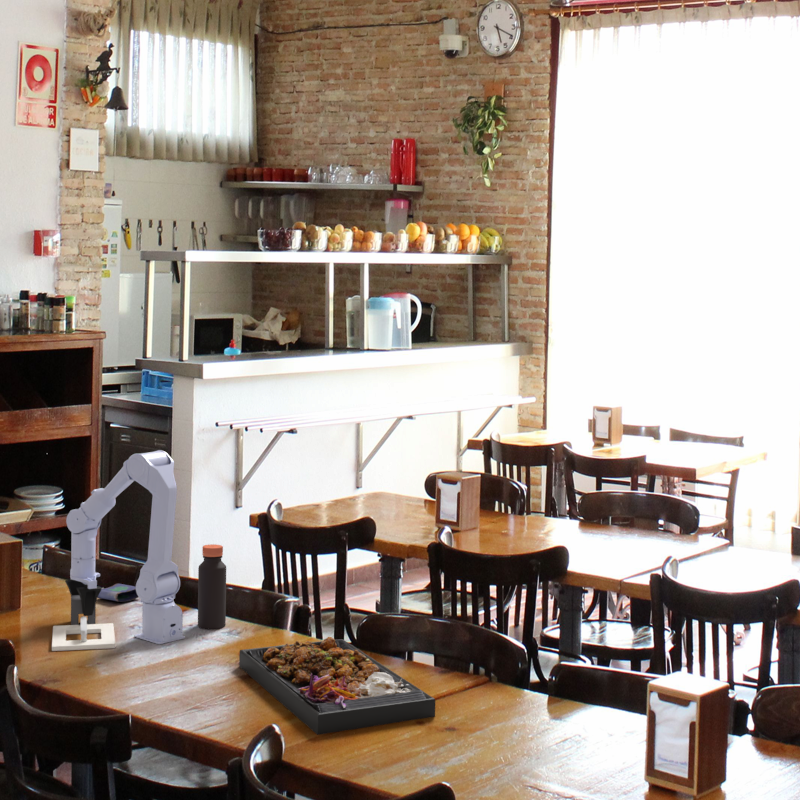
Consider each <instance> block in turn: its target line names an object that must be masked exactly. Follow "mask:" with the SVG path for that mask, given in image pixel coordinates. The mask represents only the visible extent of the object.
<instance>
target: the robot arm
mask: <svg viewBox="0 0 800 800" xmlns="http://www.w3.org/2000/svg"><path fill="white" fill-rule="evenodd" d="M174 469H175V461H174V459H173V458H172V457H171V456H170V454H169V453H168V452H166V451H164V450H162V449H158V450H154V451H150V452H141V453H133V454H132V455H130V456H128V459H126V460H125V461H124V462H123V465H122V467H121V469H120V470H118V472H117V473H116V474H115V475H114V477H113V478H112V479H111V480H110V482H108V483H107V485H106V486H105V487H104V488H103V487H101V488H100V487H99V488H96V489H95V488H94V489H93V490H92V491H90V494H91V495H90V496H89V497H88V498H87V499H86V500H85V501H84V502H83V501H82V502H81V503H80V507H79V508H75V509H71V510H70V511H69V512H68V514H67V515H66V518H65V519H66V522H65V523H66V527H67V528H68V530H69V531H70V532H71V537H70V538H71V539H70V541H71V543H70V545H71V552H70V553H71V555H70V556H71V558H70V559H71V561H70V562H71V564H70V566H71V567H70V569H69V571H70V572H69V575H70V576H69V577H70V579H65V585H66V586H67V589H68V591H69V594H70V596H71V595H80V599H81V604H82V612H83V614H82V615H83V616H85V617H88V616H89V615H93V611H94V607H95V603H97V599H98V598H97V597H98V595H99V593H100V592H101V589H102V588H103V587H101V586H99V585H98V580H97V578H99V577H101V573H99V572H96V548H97V547H96V543H97V542H96V541H97V540H96V537H97V536H98V530H99V528H100V527H101V525H102V519H103V518H104V517H105V516H106V515H107V514H108V513H109V512H110V511H111V510H112V509H113V508H114V507H115V505H116V498H117V497H118V496H120V494H121V493H122V492H123V491H125V490H126V489H127V488H128V487H129V486H131V484H132V483H134V482H136V483H138V484H139V485H141V486H142V487H143V488H145V489H146V490H148V492H149V493H150V494H151V495H152V499H151V510H150V511H151V512H150V513H151V514H150V525H149V538H148V550H147V559H146V561H145V563H144V564H143V565H142V567H141V568H140V569H139V571H140V572H139V577H138V579H137V581H136V584H135V587H136V593H137V595H138V598H139V600H140V602H141V603H142V608H141V609H142V611H141V612H142V615H141V616H142V617H141V618H142V623H141V626H142V627H141V631H142V632H140V633H136V634H134V638H137V639H141V640H143V641H147V642H150V643H152V644H156V645H162V644H167V643H171V642H175V641H179V640H183V639H185V638H186V636H185V635H183V627H184V626H183V625H184V624H183V620H184V619H183V618H184V617H183V616H184V615H183V614H184V613H183V610H182V608H181V607H180V606H179V605H177V604H176V603H175V601H174V599H176V594H177V593H178V592H179V590H180V587H181V579H180V576H179V565H177V564H176V563H175V562H173V561H172V557H173V556H172V555H173V546H174V544H173V542H174V533H175V531H174V530H175V520H176V506H177V495H178V494H177V493H178V486H177V482H176V479H175V478H176V477H175V474H174ZM97 585H98V586H97Z"/></svg>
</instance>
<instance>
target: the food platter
mask: <svg viewBox="0 0 800 800" xmlns="http://www.w3.org/2000/svg"><path fill="white" fill-rule="evenodd" d="M238 656H239V660H238V661H239V665H238V667H239V668H240V669H241V670H242V671H244V673H246V674H247V675H248V676H249V677H250V678H251V679H253V680H254V681H255V682H256V683H257V684H258V685H260V687H262V688H263V689H264V690H265V691H267V692H268V694H270V695H271V696H272V697H273V698H274V699H276V701H278V702H279V703H281V704H282V706H284V707H285V708H286V709H287V710H288V711H290V712H291V714H292V715H294V716H296V718H297V719H299V721H301V722H302V723H303V724H304V725H305V726H307V727H308V728H309V729H310V730H311V731H312V732H314V734H316V735H317V736H318V735H319V736H320V735H326V734H330V733H339V732H344V731H350V730H351V731H352V730H358V729H363V728H369V727H376V726H383V725H389V724H396V723H402V722H409V721H415V720H422V719H427V718H435V717H436V699H435V698H434V697H433V696H431V695H429V694H428V693H426V692H425V691H424V690H421V688H419V687H417V686H415V685H414V684H413V683H411V682H410V681H408V680H407V679H405V678H403V677H402V676H400V675H399V674H397V673H395V672H394V671H392V670H391V669H390V668H388V667H386V666H385V665H383V664H382V663H381V662H378V661H377V660H375V659H374V658H373V657H372V656H369V655H368V654H366V653H365V652H363V651H362V650H361V649H358V648H357V647H356V646H354V645H353V644H351V643H349V642H348V641H347V640H345V639H342V638H341V639H335V638H334V637H333V636H332V637H331V636H327V637H326V638H324V639H323V640H321V641H306V642H301V641H299V640H296V641H295V642H294V643H293V644H288V643H285V644H284V645H282V644H281V645H275V646H266V647H265V646H264V647H255V648H246V649H240V650H239V655H238Z"/></svg>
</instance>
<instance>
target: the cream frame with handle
mask: <svg viewBox="0 0 800 800" xmlns="http://www.w3.org/2000/svg"><path fill="white" fill-rule="evenodd" d="M88 634H100V638H94V639H93V638H92V639H88V638H87V637H88ZM67 635H80V639H73V640H71V639H70V640H67ZM115 635H116V634H115V628H114V623H113V622H112V623H111V622H110V623H96V624H88V616H84V615H83V616H81V617H80V624H79V625H71V624H67V625H66V624H65V625H53V626H52V639H51V651H52V652H56V651H57V652H60V651H62V652H63V651H79V650H100V649H102V650H105V649H116V646H117V645H116V636H115Z"/></svg>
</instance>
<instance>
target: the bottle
mask: <svg viewBox="0 0 800 800" xmlns="http://www.w3.org/2000/svg"><path fill="white" fill-rule="evenodd" d="M223 551H224V546H223V545H222V544H216V543H215V544H214V543H213V544H205V545H204V544H203V546H202V558H203V561H202V562H201V563H200V564H199V565H198V572H197V573H198V574H197V576H198V581H197V583H198V584H197V585H198V586H197V593H198V594H197V627H198V628H199V629H202V630H207V631H208V630H211V631H213V630H220V629H223V628H225V627H226V617H227V614H226V612H227V609H226V608H227V603H226V602H227V565H226V564H225V563H224V562H223V561H222V558H223V555H224V553H223Z"/></svg>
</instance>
